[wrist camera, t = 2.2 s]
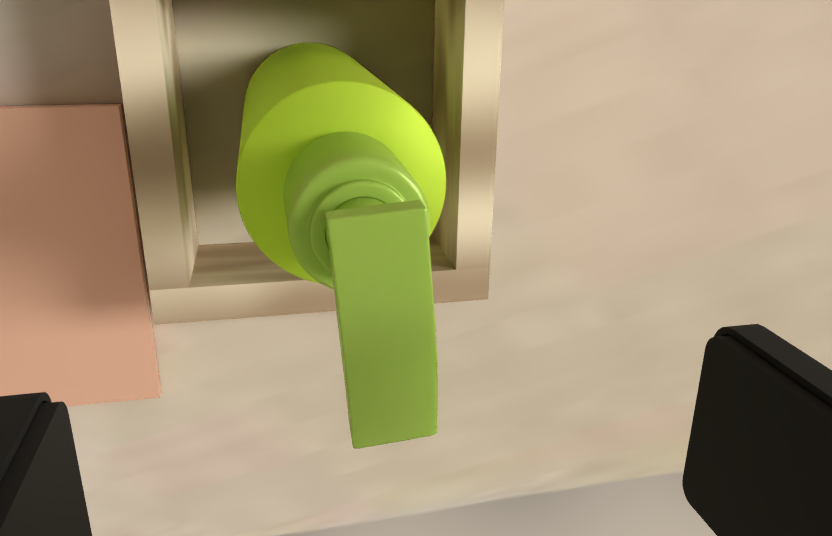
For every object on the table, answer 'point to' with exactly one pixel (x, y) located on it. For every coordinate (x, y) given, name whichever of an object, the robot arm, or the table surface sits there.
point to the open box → (244, 262)
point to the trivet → (71, 259)
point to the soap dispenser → (351, 222)
